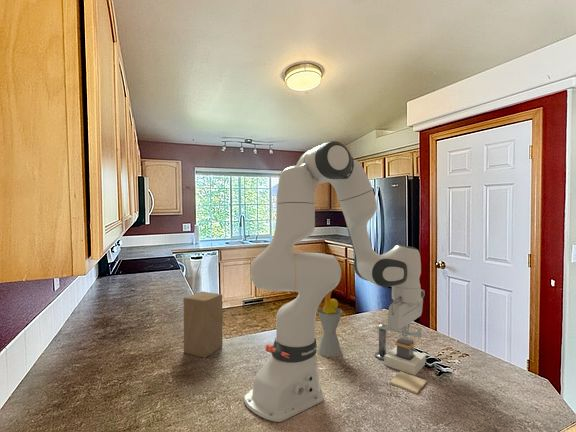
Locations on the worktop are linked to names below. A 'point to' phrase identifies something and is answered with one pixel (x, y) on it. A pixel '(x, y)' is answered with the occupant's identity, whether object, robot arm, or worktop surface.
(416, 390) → the coaster
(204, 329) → the wooden block
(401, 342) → the plug
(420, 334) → the grey metal bar
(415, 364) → the socket
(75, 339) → the worktop surface
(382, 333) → the post
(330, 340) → the lava lamp
